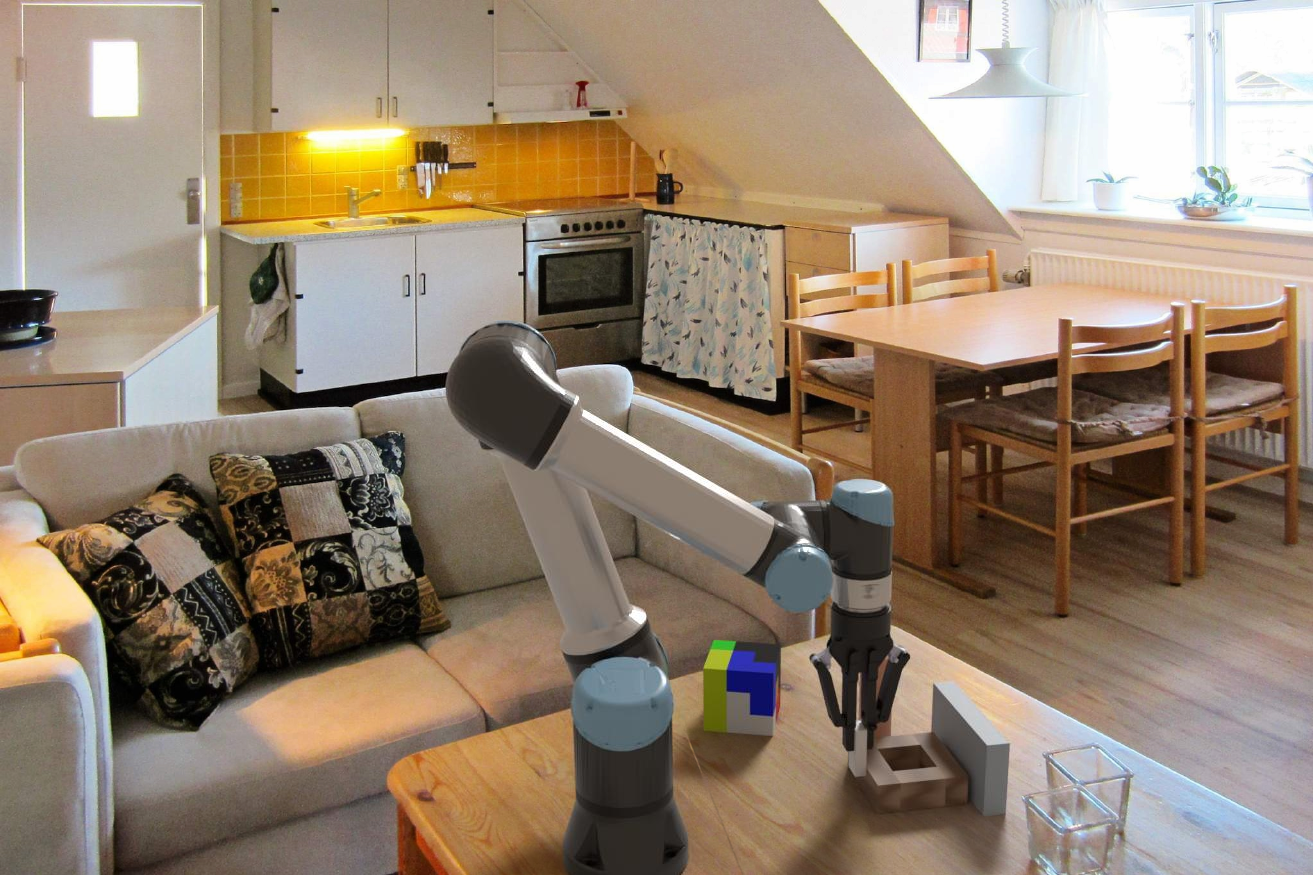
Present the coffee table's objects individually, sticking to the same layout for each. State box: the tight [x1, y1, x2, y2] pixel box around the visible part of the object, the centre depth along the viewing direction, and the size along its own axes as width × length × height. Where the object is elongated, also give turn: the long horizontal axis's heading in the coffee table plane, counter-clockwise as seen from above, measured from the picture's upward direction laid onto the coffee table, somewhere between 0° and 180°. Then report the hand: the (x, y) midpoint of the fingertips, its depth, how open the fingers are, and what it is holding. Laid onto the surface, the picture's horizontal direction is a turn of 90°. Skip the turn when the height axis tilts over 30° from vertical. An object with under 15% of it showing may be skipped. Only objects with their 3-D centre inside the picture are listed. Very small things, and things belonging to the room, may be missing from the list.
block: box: [847, 731, 968, 815], centre depth 169 cm, size 12×12×4 cm
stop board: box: [930, 680, 1011, 817], centre depth 170 cm, size 3×18×10 cm, turn 9°
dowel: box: [858, 655, 893, 738], centre depth 178 cm, size 4×4×14 cm
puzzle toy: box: [702, 639, 782, 737], centre depth 188 cm, size 10×10×10 cm
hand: (857, 770), depth 168 cm, fingers closed
